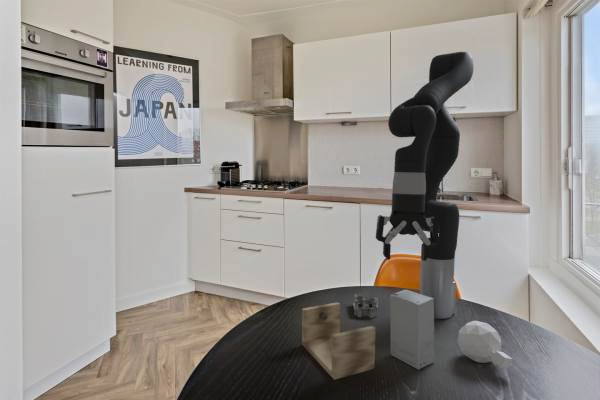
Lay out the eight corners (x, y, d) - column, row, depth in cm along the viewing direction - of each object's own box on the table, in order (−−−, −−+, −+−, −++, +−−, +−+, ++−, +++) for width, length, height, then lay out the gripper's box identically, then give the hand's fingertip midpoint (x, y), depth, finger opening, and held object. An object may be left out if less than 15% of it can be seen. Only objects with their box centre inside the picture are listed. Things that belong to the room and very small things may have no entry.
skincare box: (434, 362, 82) (437, 298, 81) (417, 371, 79) (419, 304, 77) (405, 347, 89) (406, 287, 88) (387, 354, 86) (389, 292, 84)
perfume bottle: (443, 345, 86) (483, 379, 75) (458, 310, 85) (501, 339, 74) (469, 349, 90) (512, 383, 79) (484, 315, 89) (529, 344, 78)
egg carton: (354, 304, 117) (354, 292, 116) (377, 306, 115) (378, 293, 115) (352, 317, 107) (352, 304, 106) (377, 319, 105) (378, 306, 105)
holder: (337, 336, 95) (337, 302, 94) (374, 368, 80) (375, 328, 79) (302, 344, 90) (302, 308, 90) (334, 379, 76) (334, 337, 75)
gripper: (434, 192, 91) (430, 257, 92) (375, 190, 91) (373, 255, 92) (444, 193, 83) (440, 264, 84) (381, 191, 84) (378, 262, 85)
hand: (405, 259), depth 88 cm, fingers open, 8 cm apart
